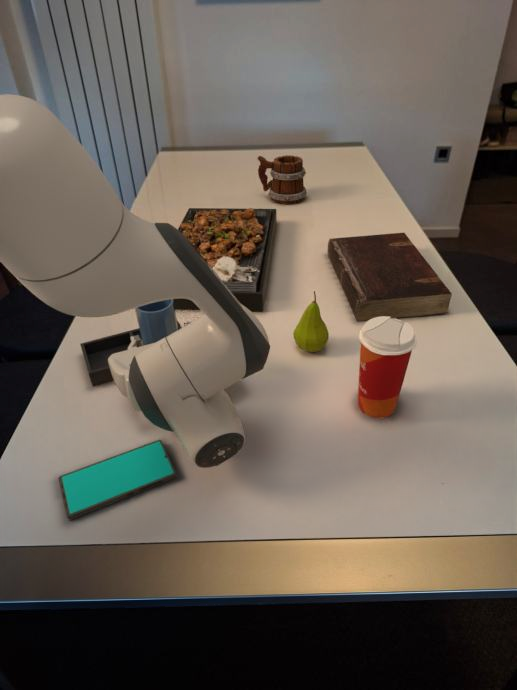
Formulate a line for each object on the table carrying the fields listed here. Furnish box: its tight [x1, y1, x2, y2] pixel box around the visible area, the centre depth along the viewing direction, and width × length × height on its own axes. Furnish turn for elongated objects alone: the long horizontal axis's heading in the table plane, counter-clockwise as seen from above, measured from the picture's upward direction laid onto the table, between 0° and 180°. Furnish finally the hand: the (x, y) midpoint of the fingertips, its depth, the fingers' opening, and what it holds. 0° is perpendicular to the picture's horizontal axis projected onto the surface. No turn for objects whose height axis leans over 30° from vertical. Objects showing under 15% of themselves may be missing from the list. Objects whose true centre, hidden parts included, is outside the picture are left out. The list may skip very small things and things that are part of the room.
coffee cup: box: [357, 316, 418, 419], centre depth 76 cm, size 8×8×15 cm
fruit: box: [292, 290, 329, 353], centre depth 89 cm, size 6×6×12 cm
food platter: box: [174, 207, 278, 313], centre depth 119 cm, size 45×25×10 cm, turn 175°
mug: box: [257, 154, 308, 205], centre depth 151 cm, size 12×14×15 cm
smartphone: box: [57, 439, 177, 521], centre depth 70 cm, size 7×1×15 cm
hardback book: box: [327, 232, 452, 322], centre depth 110 cm, size 29×19×5 cm, turn 5°
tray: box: [79, 320, 182, 388], centre depth 91 cm, size 18×10×3 cm, turn 115°
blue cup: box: [134, 299, 178, 346], centre depth 90 cm, size 7×7×10 cm
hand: (162, 331), depth 85 cm, fingers open, 8 cm apart
